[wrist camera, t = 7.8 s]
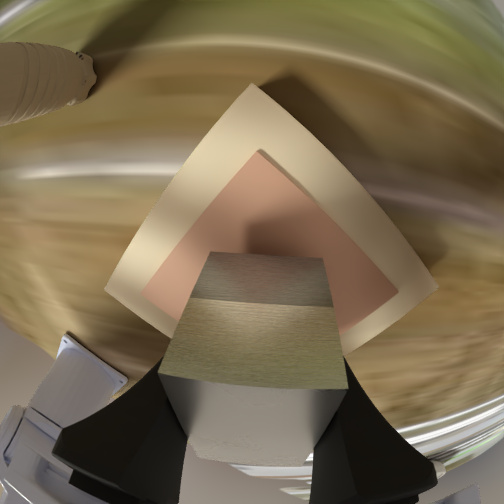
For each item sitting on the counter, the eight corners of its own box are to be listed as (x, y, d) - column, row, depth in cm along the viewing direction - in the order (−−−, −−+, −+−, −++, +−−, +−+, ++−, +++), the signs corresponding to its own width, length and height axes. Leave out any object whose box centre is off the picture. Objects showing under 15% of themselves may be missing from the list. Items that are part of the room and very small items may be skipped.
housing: (322, 258, 11) (348, 388, 5) (300, 366, 14) (301, 466, 9) (210, 251, 11) (157, 372, 6) (220, 360, 14) (198, 457, 9)
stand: (272, 375, 20) (270, 398, 18) (118, 272, 17) (102, 291, 15) (425, 268, 14) (440, 289, 12) (256, 87, 11) (251, 82, 9)
